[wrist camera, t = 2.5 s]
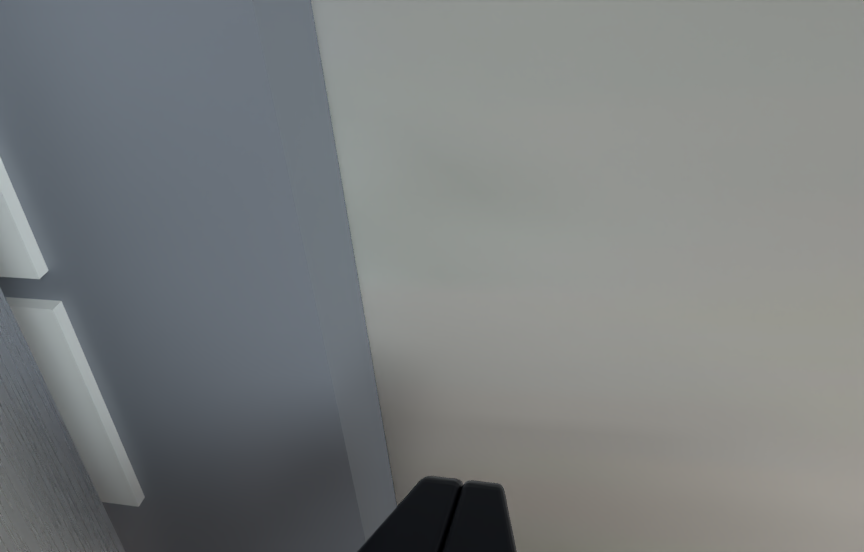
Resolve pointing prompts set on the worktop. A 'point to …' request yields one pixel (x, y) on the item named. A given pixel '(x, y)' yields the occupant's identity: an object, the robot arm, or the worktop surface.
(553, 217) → the worktop surface
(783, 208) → the worktop surface
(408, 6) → the worktop surface
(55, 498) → the swing arm
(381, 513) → the label board
